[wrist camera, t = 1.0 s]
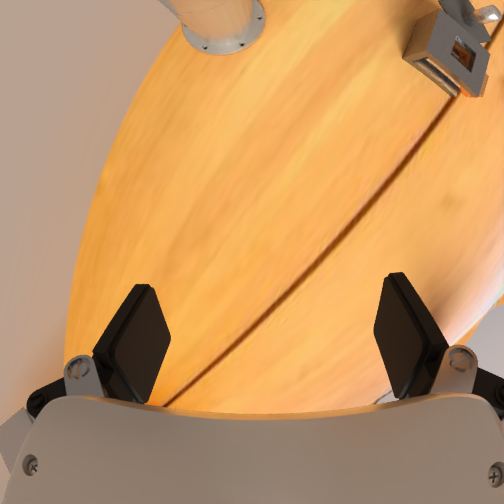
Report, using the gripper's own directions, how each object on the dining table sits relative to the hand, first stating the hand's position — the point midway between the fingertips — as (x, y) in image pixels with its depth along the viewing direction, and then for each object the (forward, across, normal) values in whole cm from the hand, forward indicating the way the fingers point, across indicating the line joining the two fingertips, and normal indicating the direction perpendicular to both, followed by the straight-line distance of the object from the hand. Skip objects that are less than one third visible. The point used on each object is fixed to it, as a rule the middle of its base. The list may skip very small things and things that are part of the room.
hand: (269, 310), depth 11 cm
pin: (+34, -41, -31) cm, 62 cm away
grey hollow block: (+34, -31, -20) cm, 50 cm away
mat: (+34, -41, -31) cm, 62 cm away
